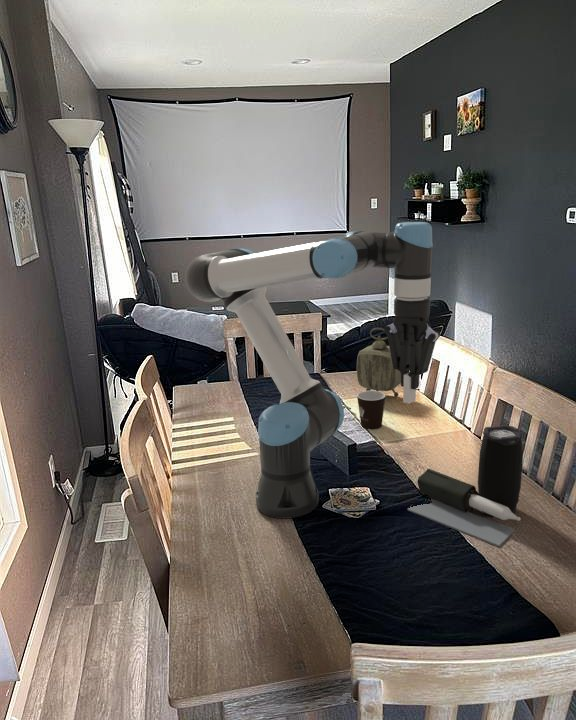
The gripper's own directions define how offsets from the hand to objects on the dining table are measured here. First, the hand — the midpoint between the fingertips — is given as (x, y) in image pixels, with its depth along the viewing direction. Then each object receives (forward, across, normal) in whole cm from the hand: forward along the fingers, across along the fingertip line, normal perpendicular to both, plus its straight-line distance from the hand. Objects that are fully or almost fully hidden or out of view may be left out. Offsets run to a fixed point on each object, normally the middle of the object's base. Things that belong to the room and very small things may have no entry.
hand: (409, 401), depth 131 cm
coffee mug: (+26, +35, -33) cm, 55 cm away
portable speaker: (+26, -18, -10) cm, 33 cm away
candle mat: (+25, -13, -1) cm, 29 cm away
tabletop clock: (+26, +47, -54) cm, 76 cm away
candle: (+23, 0, -7) cm, 24 cm away
